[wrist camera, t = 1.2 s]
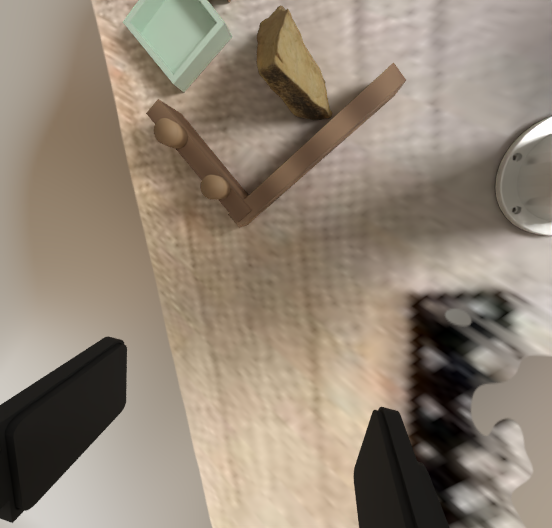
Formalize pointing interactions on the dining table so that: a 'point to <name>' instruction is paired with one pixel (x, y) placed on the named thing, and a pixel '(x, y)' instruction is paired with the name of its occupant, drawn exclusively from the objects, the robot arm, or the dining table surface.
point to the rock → (291, 67)
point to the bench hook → (247, 207)
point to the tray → (179, 36)
